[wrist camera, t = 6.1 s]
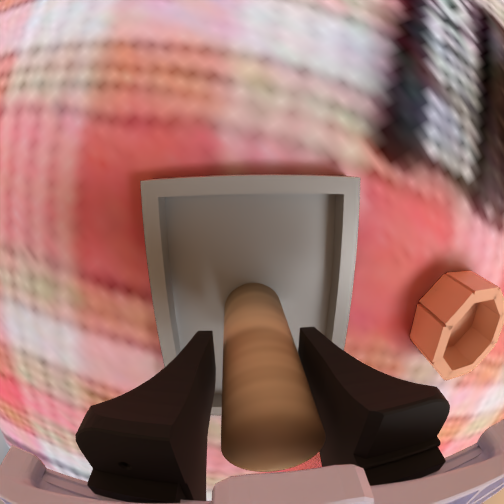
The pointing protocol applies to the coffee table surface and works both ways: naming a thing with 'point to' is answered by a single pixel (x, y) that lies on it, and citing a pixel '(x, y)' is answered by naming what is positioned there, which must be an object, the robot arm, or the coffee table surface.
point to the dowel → (264, 387)
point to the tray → (249, 252)
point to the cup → (458, 322)
